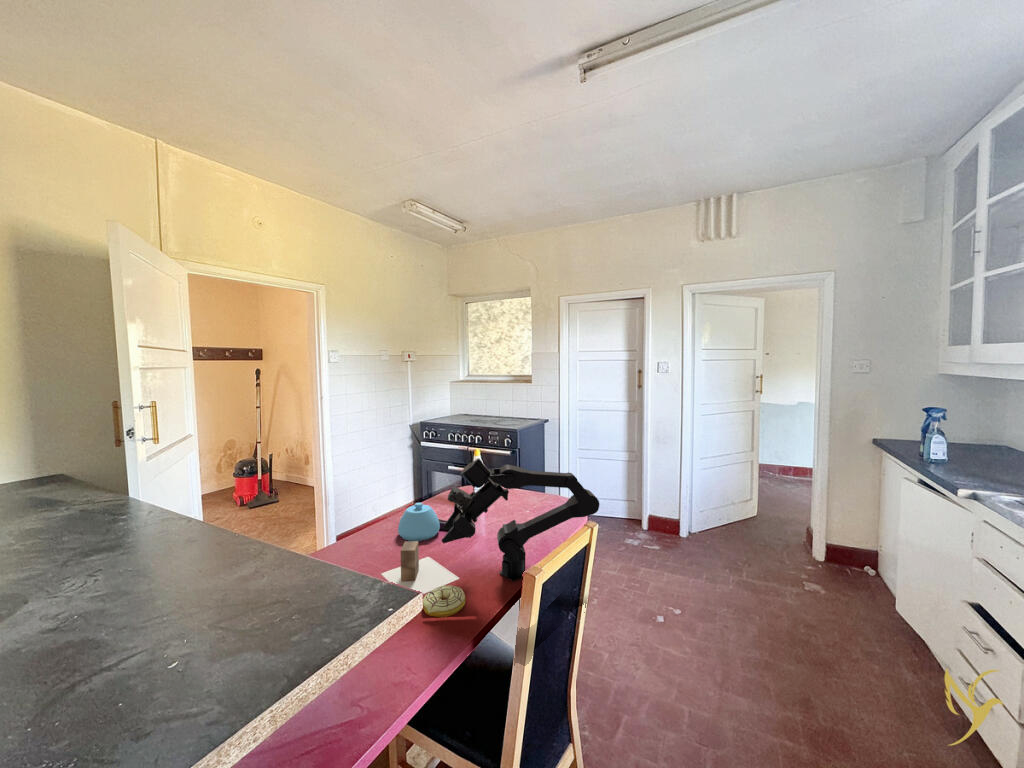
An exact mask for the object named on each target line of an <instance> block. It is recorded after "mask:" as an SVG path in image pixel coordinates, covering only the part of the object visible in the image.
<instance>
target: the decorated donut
mask: <svg viewBox="0 0 1024 768" xmlns="http://www.w3.org/2000/svg"><path fill="white" fill-rule="evenodd" d="M465 604H466V595H465V592H464V590H463V589H462V588H461V587H459V586H455V585H450V584H449V585H448V584H446V585H444V586H441V587H437V588H435V589H433V590H432V591H430V592H427V593H425V595H424V597H423V599H422V607H423V608H422V610H423V611H424V613H425V614H426V615H427V616H429V617H435V618H436V619H439V618H440V619H441V618H442V619H443V618H446V617H450V616H453V615H456V614H457V613H459V612H460V611H461V610H462V609H463V608H464V607H465Z"/></svg>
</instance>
